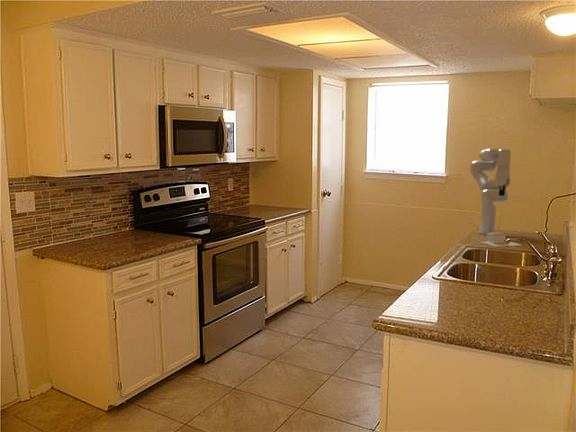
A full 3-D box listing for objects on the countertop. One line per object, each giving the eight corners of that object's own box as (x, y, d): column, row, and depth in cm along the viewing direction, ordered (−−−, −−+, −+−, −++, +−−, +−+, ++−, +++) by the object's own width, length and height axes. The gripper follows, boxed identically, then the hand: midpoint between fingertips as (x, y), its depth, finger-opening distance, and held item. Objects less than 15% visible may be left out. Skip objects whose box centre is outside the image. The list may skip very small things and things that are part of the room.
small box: (498, 232, 323) (506, 235, 313) (498, 240, 324) (505, 243, 314) (486, 232, 323) (493, 235, 313) (486, 240, 324) (493, 243, 313)
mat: (481, 242, 320) (481, 241, 320) (507, 241, 324) (507, 240, 324) (495, 247, 306) (495, 246, 306) (522, 245, 310) (522, 245, 310)
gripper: (491, 167, 334) (489, 194, 337) (505, 168, 320) (503, 196, 322) (501, 167, 336) (499, 194, 338) (515, 168, 321) (514, 196, 324)
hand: (501, 195), depth 330 cm, fingers closed
